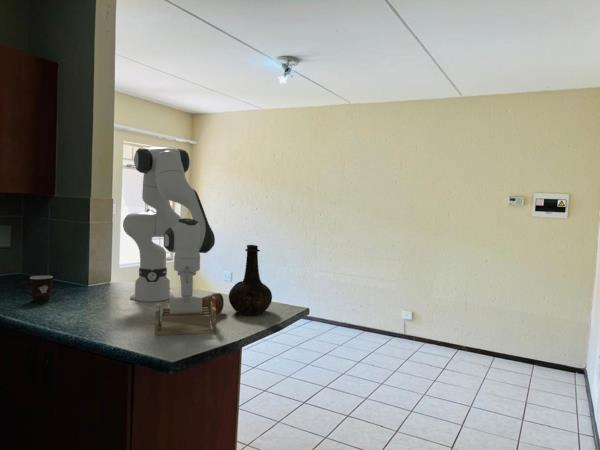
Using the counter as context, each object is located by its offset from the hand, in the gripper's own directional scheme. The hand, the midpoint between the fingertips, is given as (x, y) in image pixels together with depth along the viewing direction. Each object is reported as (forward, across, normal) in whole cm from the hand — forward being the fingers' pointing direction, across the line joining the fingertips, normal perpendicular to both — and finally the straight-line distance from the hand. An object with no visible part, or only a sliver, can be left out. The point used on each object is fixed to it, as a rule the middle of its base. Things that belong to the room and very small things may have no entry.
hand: (186, 303), depth 158 cm
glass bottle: (+9, +20, -26) cm, 34 cm away
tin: (+9, +16, -10) cm, 21 cm away
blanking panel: (+8, 0, 0) cm, 8 cm away
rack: (+9, 0, 0) cm, 9 cm away
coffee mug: (+10, +51, +61) cm, 80 cm away
